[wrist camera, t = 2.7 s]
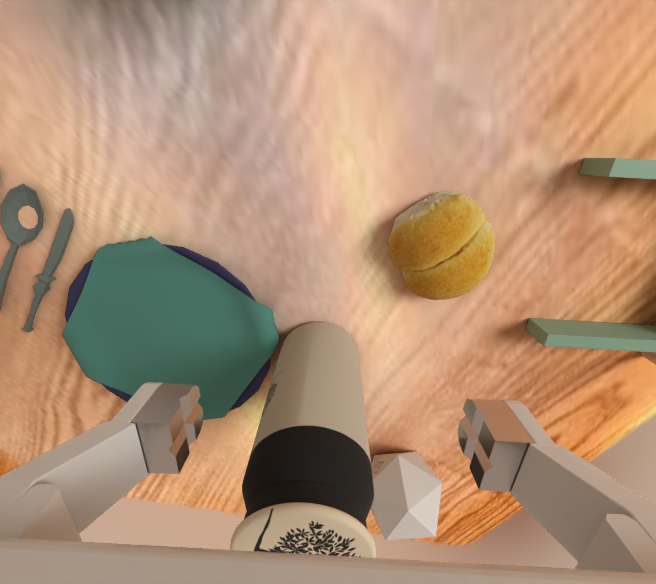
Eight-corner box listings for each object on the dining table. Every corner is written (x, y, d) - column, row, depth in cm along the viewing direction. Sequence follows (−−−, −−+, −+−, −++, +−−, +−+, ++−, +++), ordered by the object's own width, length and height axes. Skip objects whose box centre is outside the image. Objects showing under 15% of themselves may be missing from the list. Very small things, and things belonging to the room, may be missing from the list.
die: (381, 420, 37) (343, 507, 31) (458, 456, 33) (430, 562, 27) (383, 446, 42) (351, 523, 37) (449, 480, 39) (424, 571, 33)
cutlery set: (220, 432, 38) (213, 448, 36) (-46, 300, 32) (-73, 310, 29) (312, 312, 31) (311, 324, 29) (-2, 115, 25) (-33, 111, 23)
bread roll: (418, 305, 30) (429, 326, 27) (373, 227, 27) (379, 238, 24) (502, 262, 28) (526, 278, 25) (463, 173, 25) (484, 176, 22)
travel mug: (372, 340, 32) (412, 541, 15) (335, 395, 35) (334, 614, 18) (301, 307, 30) (260, 486, 14) (269, 366, 33) (202, 574, 17)
